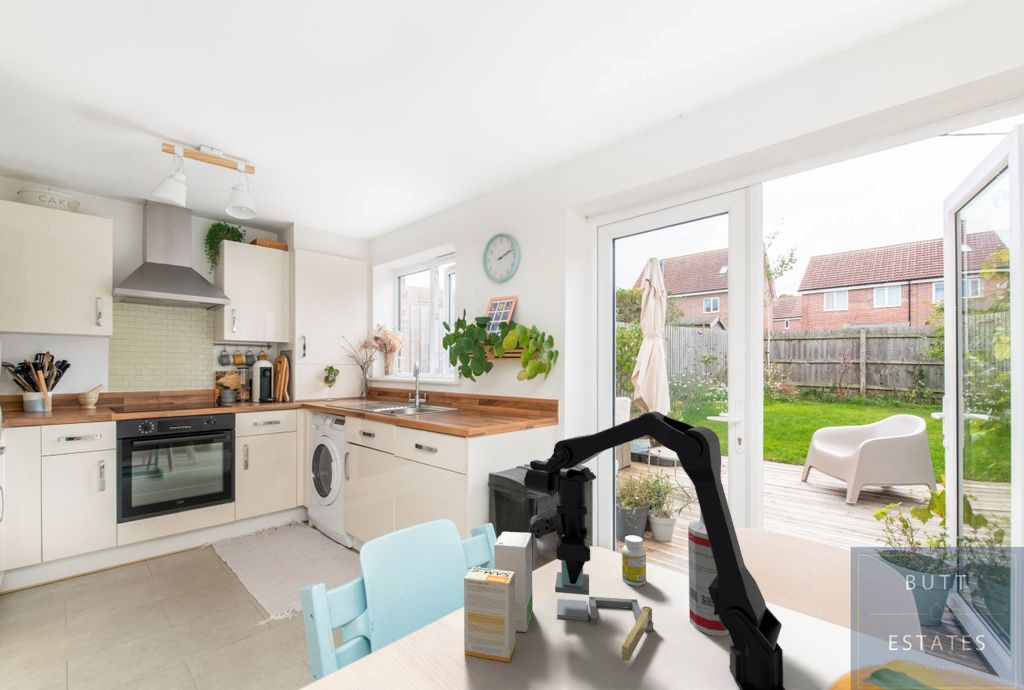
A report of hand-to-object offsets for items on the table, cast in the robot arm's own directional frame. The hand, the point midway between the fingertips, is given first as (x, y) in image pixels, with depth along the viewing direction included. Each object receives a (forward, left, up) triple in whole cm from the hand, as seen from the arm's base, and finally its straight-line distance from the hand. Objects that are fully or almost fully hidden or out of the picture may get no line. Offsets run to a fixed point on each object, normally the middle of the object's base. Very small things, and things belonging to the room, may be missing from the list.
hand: (572, 578), depth 91 cm
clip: (-11, +10, -5) cm, 16 cm away
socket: (-8, +1, -7) cm, 11 cm away
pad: (0, 0, -7) cm, 7 cm away
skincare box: (+12, +4, -7) cm, 14 cm away
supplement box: (+15, +14, -7) cm, 22 cm away
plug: (0, 0, -2) cm, 2 cm away
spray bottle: (-26, +1, -7) cm, 27 cm away
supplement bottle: (-14, -15, -7) cm, 22 cm away
